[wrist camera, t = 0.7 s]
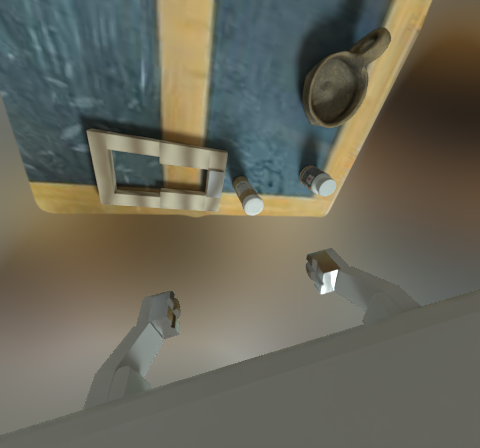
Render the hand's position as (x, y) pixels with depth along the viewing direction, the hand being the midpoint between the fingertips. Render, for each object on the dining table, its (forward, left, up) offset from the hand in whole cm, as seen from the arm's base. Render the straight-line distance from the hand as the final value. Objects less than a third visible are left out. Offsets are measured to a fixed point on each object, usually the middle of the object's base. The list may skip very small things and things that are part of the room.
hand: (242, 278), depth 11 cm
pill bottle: (+27, +15, -41) cm, 52 cm away
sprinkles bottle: (+15, -1, -41) cm, 44 cm away
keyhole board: (0, -12, -41) cm, 43 cm away
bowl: (+11, +29, -41) cm, 52 cm away
